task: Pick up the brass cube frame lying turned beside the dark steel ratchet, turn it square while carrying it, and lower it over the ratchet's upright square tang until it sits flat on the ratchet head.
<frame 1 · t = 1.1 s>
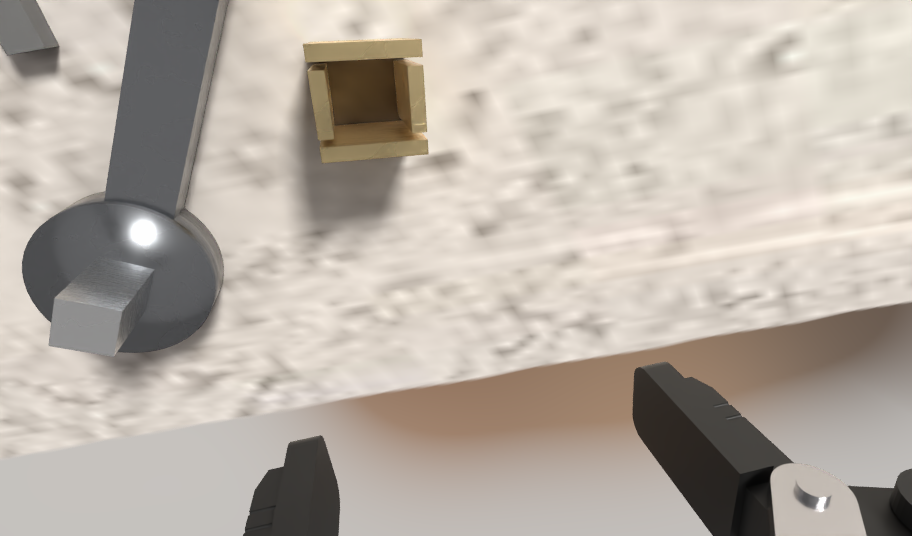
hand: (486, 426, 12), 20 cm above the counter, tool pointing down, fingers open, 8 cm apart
ratchet: (140, 264, 28), on the counter
brass cube frame: (363, 89, 27), on the counter
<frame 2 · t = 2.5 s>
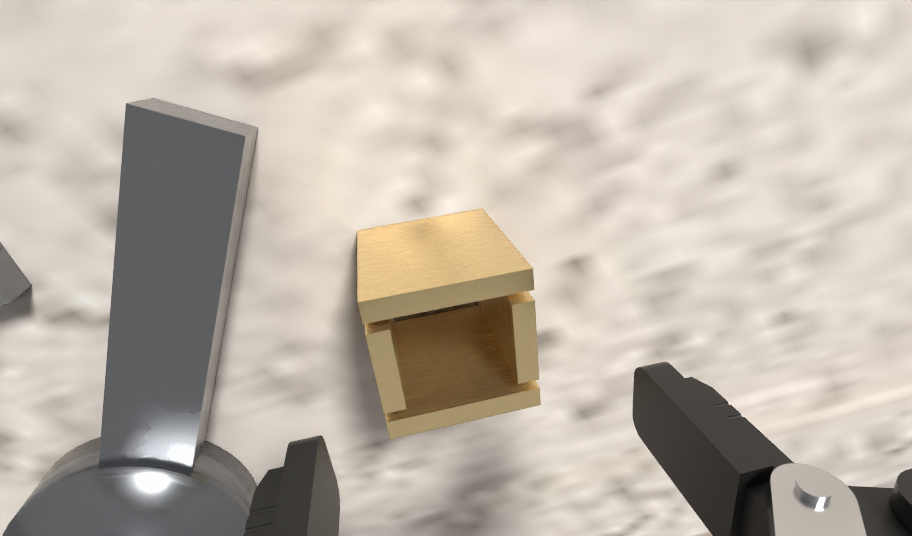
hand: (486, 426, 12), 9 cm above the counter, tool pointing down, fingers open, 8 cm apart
ratchet: (154, 507, 22), on the counter
brass cube frame: (430, 276, 20), on the counter
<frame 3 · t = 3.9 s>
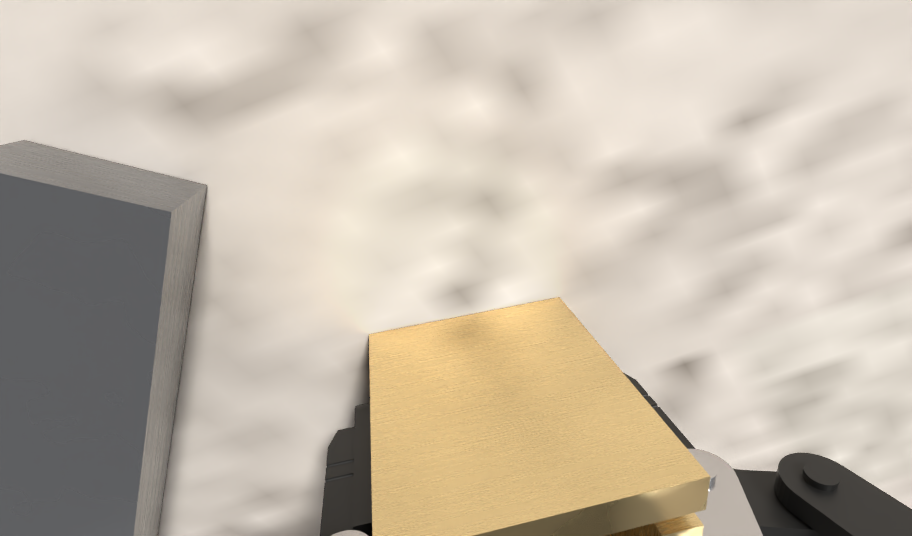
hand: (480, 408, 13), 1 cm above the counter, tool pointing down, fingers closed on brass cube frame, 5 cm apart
brass cube frame: (476, 393, 13), on the counter, touching gripper
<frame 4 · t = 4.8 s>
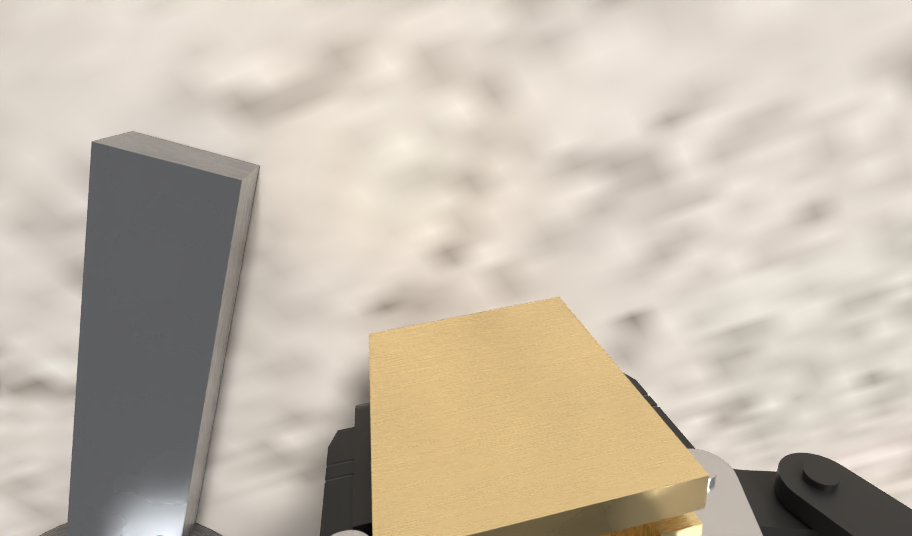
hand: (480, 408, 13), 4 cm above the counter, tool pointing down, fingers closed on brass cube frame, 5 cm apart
brass cube frame: (476, 392, 13), point 4 cm above the counter, touching gripper
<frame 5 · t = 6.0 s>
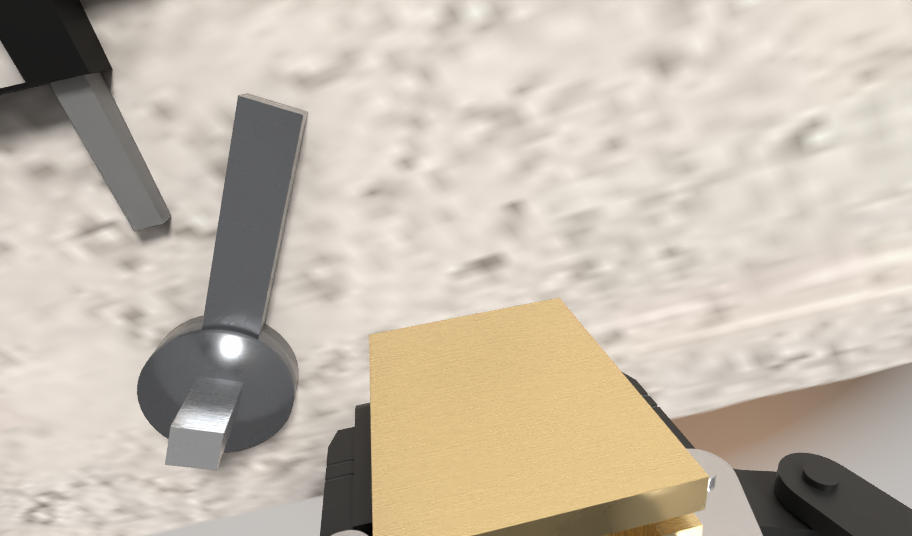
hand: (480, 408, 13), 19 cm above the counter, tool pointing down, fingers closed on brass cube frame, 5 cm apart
ratchet: (228, 373, 32), on the counter
door handle: (24, 88, 24), on the counter
brass cube frame: (476, 393, 13), point 18 cm above the counter, touching gripper
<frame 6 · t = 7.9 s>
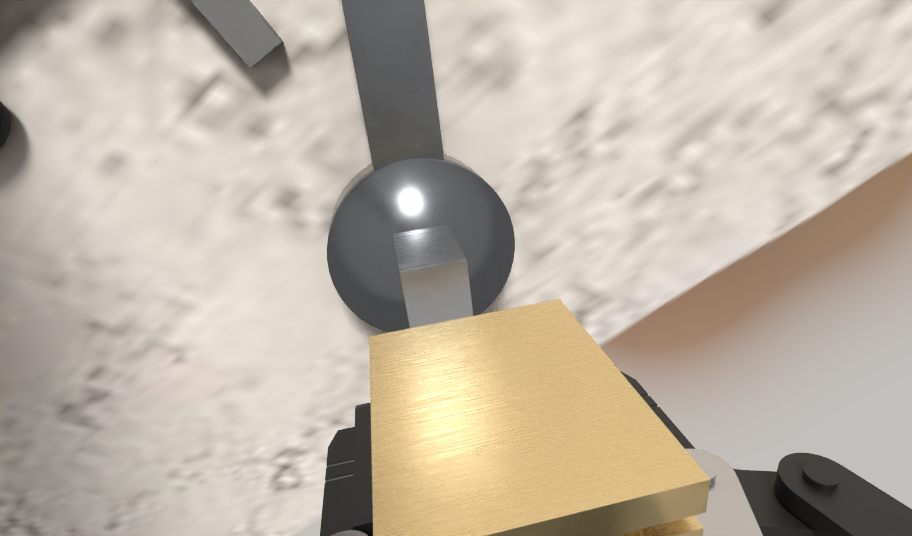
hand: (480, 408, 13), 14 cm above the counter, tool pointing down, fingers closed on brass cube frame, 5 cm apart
ratchet: (418, 237, 25), on the counter
brass cube frame: (476, 394, 13), point 13 cm above the counter, touching gripper
when the fingers open (4 cm above the counter, at t = 11.4 s): brass cube frame stays where it is, resting on ratchet.
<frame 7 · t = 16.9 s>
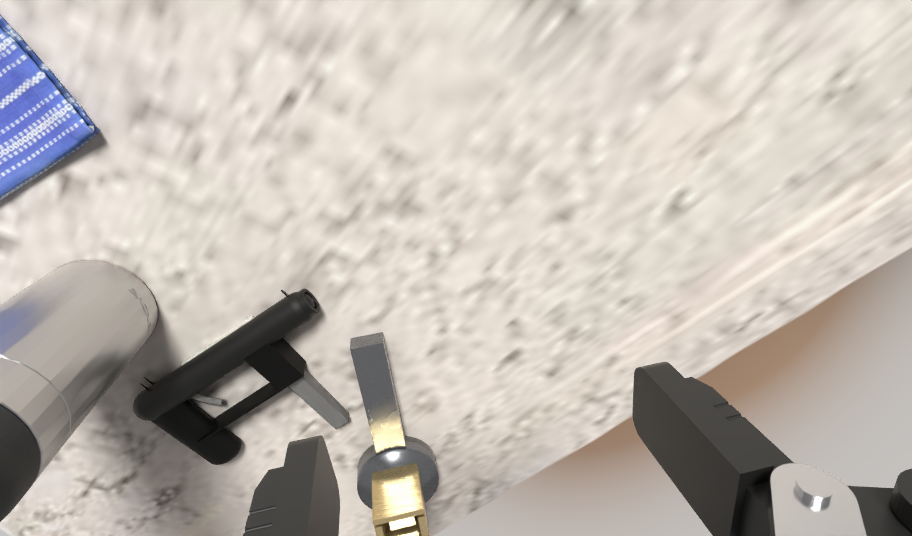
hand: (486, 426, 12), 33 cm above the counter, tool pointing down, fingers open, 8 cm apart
ratchet: (397, 466, 55), on the counter
door handle: (268, 381, 49), on the counter
brass cube frame: (398, 484, 53), point 2 cm above the counter, touching ratchet
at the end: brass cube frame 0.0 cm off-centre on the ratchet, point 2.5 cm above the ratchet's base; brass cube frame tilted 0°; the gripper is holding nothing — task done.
